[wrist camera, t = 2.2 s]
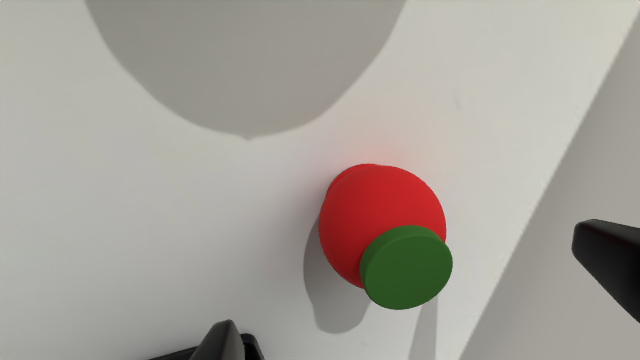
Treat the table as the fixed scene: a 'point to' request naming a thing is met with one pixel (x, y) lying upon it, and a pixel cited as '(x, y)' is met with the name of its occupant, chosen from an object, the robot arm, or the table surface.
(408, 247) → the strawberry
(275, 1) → the table surface
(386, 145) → the table surface
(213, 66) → the table surface
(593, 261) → the robot arm
